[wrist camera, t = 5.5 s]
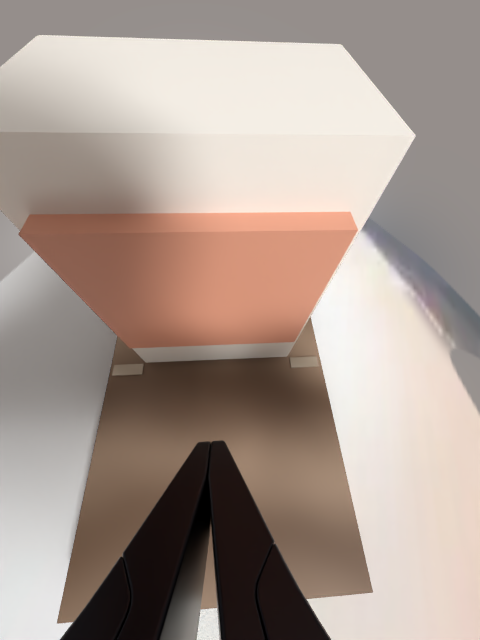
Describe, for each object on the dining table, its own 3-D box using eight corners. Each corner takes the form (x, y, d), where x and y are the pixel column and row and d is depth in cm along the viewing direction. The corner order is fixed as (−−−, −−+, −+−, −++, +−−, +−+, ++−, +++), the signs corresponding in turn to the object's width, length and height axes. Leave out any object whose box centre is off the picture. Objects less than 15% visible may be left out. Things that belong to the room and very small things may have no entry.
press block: (288, 366, 14) (430, 154, 4) (144, 373, 13) (-100, 151, 3) (276, 286, 16) (341, 44, 7) (155, 289, 16) (37, 35, 6)
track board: (355, 575, 11) (374, 593, 9) (79, 601, 10) (55, 625, 9) (295, 287, 18) (301, 273, 17) (137, 291, 18) (129, 277, 16)
